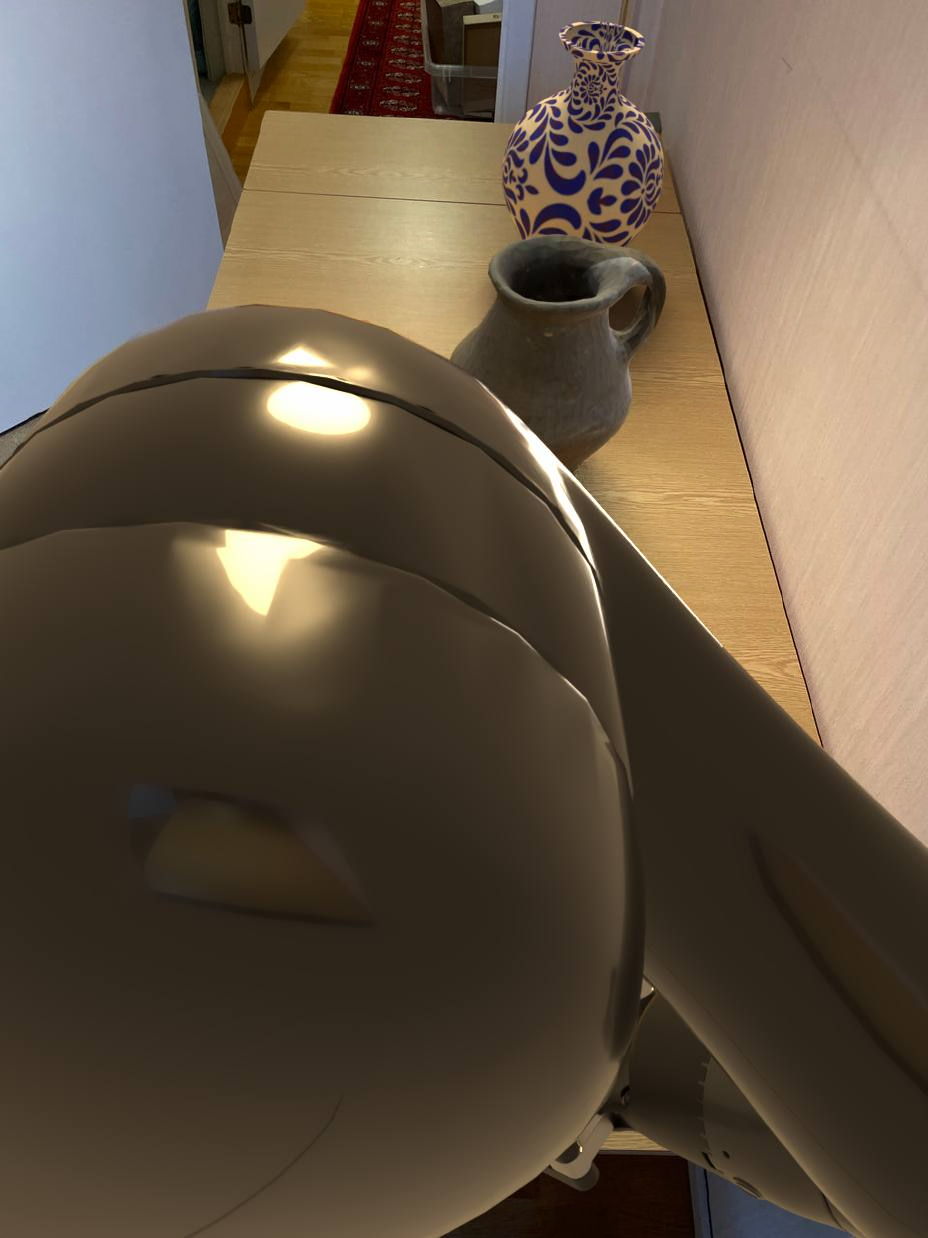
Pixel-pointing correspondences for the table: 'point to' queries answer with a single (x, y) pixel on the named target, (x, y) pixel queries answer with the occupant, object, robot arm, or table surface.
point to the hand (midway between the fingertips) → (526, 993)
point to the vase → (586, 149)
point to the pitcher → (563, 338)
